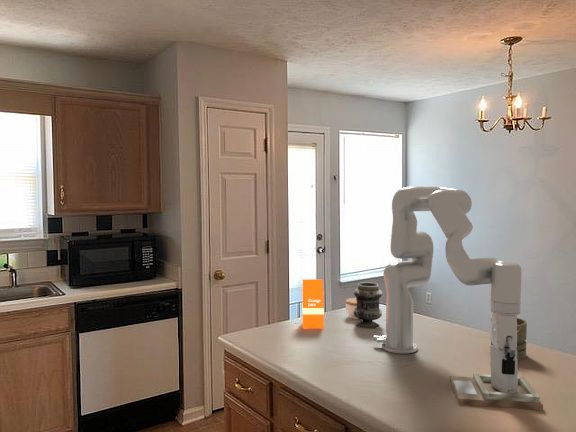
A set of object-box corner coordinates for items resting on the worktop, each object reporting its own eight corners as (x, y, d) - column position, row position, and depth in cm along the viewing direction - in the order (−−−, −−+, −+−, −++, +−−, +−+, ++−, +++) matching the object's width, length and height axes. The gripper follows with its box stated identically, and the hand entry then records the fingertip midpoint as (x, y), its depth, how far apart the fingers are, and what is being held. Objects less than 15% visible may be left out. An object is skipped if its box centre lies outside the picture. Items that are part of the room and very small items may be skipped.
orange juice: (323, 328, 200) (323, 281, 199) (302, 328, 200) (302, 281, 199) (322, 323, 208) (322, 277, 207) (302, 323, 208) (302, 277, 207)
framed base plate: (458, 404, 128) (458, 393, 128) (449, 380, 144) (449, 371, 144) (542, 410, 125) (543, 398, 124) (524, 385, 140) (524, 375, 140)
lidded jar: (344, 320, 213) (344, 299, 213) (345, 313, 224) (345, 294, 223) (369, 321, 211) (369, 300, 211) (369, 314, 222) (369, 294, 221)
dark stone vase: (375, 331, 196) (375, 287, 195) (348, 327, 202) (348, 284, 201) (386, 324, 206) (386, 282, 205) (360, 320, 212) (360, 280, 211)
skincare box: (518, 392, 132) (519, 349, 131) (505, 395, 130) (506, 351, 130) (501, 384, 138) (502, 342, 137) (489, 386, 136) (489, 344, 136)
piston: (488, 315, 173) (521, 317, 171) (487, 348, 174) (520, 350, 172) (494, 324, 162) (530, 325, 160) (494, 358, 163) (530, 361, 161)
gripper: (484, 299, 142) (482, 355, 143) (498, 314, 125) (496, 378, 126) (511, 300, 140) (509, 357, 142) (529, 316, 123) (527, 380, 125)
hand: (503, 367), depth 134 cm, fingers open, 9 cm apart
